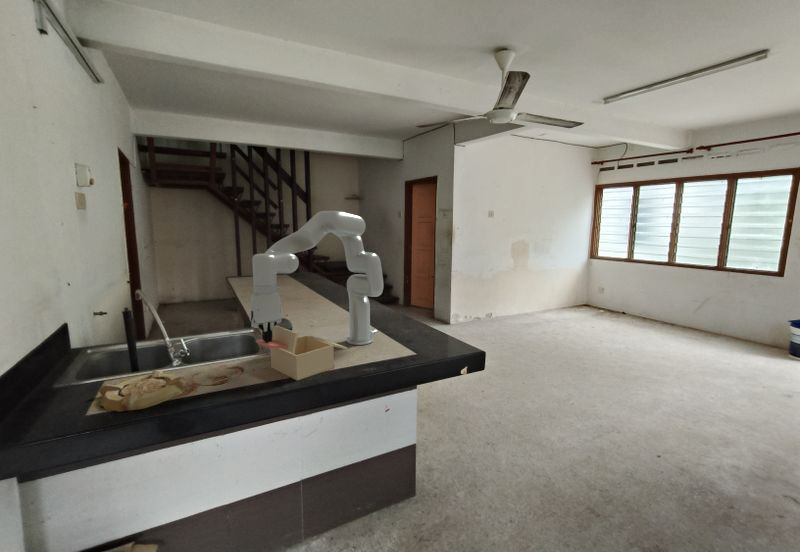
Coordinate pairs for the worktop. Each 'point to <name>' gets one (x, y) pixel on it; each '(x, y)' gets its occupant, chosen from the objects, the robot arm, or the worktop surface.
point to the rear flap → (329, 342)
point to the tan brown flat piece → (142, 391)
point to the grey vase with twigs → (285, 324)
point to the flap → (281, 339)
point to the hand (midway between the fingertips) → (267, 341)
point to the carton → (304, 358)
